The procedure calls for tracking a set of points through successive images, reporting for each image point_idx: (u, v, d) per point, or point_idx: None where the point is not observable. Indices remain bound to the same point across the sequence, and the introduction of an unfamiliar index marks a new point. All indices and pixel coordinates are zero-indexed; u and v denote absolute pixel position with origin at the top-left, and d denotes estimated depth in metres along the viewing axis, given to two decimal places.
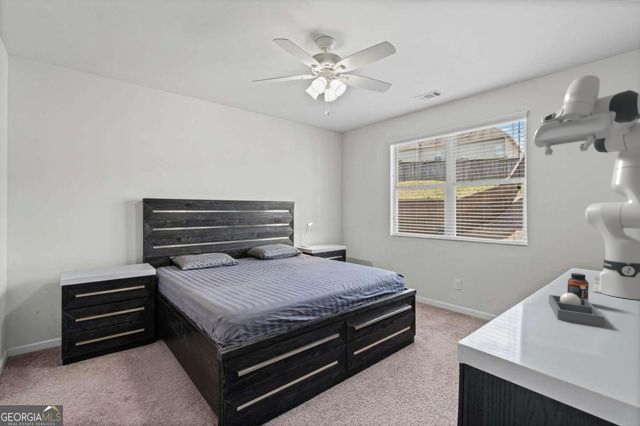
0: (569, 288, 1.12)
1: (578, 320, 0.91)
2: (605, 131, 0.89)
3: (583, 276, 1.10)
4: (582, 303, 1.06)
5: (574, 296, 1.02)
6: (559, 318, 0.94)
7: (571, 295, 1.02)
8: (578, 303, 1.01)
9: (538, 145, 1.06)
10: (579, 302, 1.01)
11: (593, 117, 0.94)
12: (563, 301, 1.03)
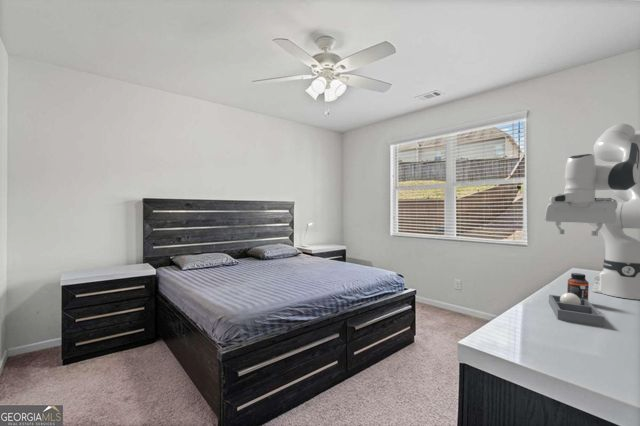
0: (569, 288, 1.12)
1: (578, 320, 0.91)
2: (613, 223, 1.05)
3: (583, 276, 1.10)
4: (582, 303, 1.06)
5: (574, 296, 1.02)
6: (559, 318, 0.94)
7: (571, 295, 1.02)
8: (578, 303, 1.01)
9: (548, 221, 1.16)
10: (579, 302, 1.01)
11: (600, 206, 1.07)
12: (563, 301, 1.03)
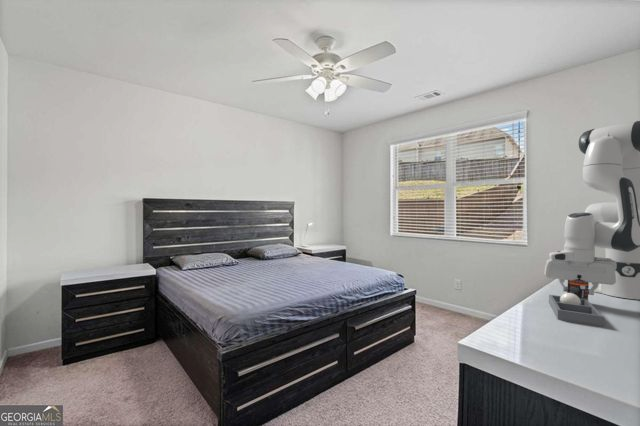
0: (569, 288, 1.12)
1: (578, 320, 0.91)
2: (613, 284, 1.06)
3: None
4: (582, 303, 1.06)
5: (574, 296, 1.02)
6: (559, 318, 0.94)
7: (571, 295, 1.02)
8: (578, 303, 1.01)
9: None
10: (579, 302, 1.01)
11: (600, 266, 1.07)
12: (563, 301, 1.03)
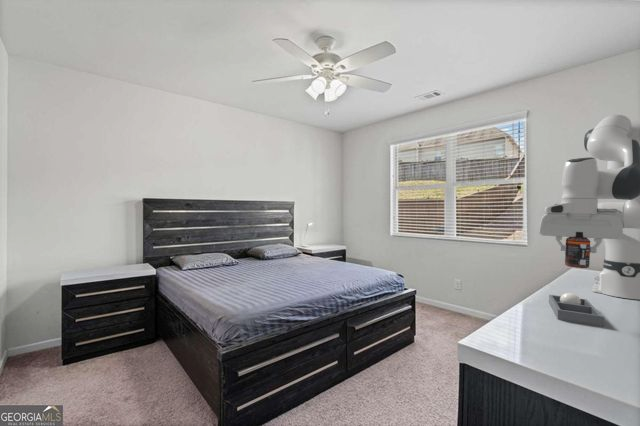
0: (567, 248, 0.96)
1: (578, 320, 0.91)
2: (619, 239, 0.90)
3: None
4: (582, 303, 1.06)
5: (574, 296, 1.02)
6: (559, 318, 0.94)
7: (571, 295, 1.02)
8: (578, 303, 1.01)
9: None
10: (579, 302, 1.01)
11: (604, 218, 0.91)
12: (563, 301, 1.03)
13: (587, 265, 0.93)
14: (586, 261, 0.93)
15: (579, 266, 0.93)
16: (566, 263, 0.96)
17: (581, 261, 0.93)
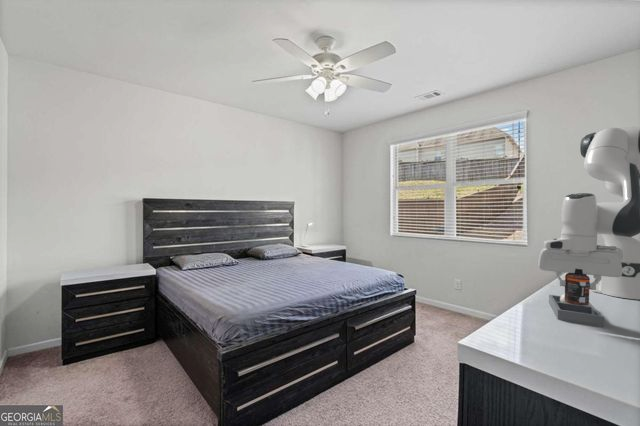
0: (567, 285, 0.96)
1: (578, 320, 0.91)
2: (618, 277, 0.89)
3: None
4: None
5: None
6: (559, 318, 0.94)
7: None
8: None
9: None
10: None
11: (603, 256, 0.91)
12: (563, 301, 1.03)
13: (586, 303, 0.93)
14: (585, 299, 0.93)
15: (578, 303, 0.93)
16: (565, 299, 0.96)
17: (581, 299, 0.93)
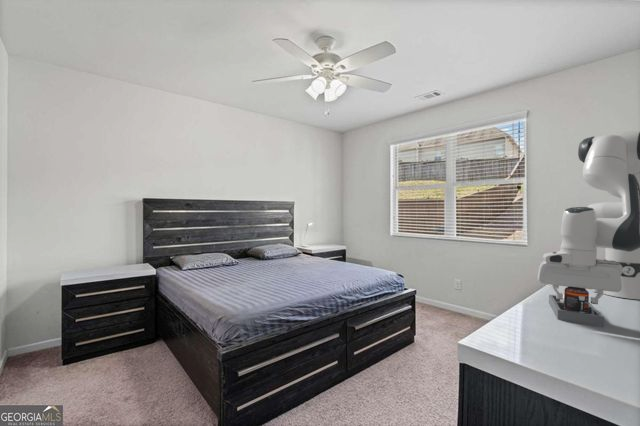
0: (566, 299, 0.96)
1: (578, 320, 0.91)
2: (618, 291, 0.90)
3: None
4: None
5: None
6: (559, 318, 0.94)
7: None
8: None
9: None
10: None
11: (603, 270, 0.91)
12: (563, 301, 1.03)
13: None
14: None
15: None
16: None
17: None
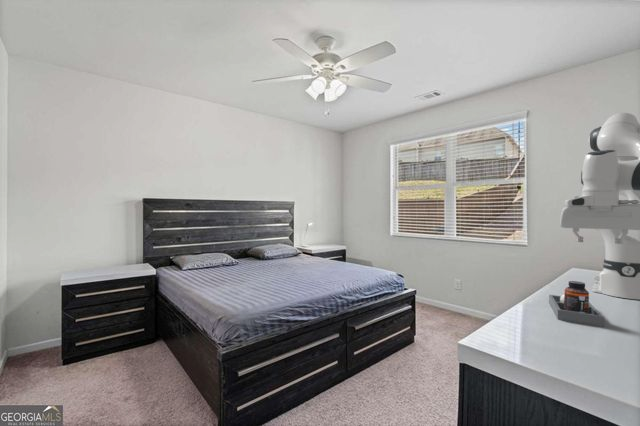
0: (566, 299, 0.96)
1: (578, 320, 0.91)
2: None
3: (582, 285, 0.94)
4: None
5: None
6: (559, 318, 0.94)
7: None
8: None
9: None
10: None
11: (626, 210, 0.93)
12: (563, 301, 1.03)
13: None
14: None
15: None
16: None
17: None
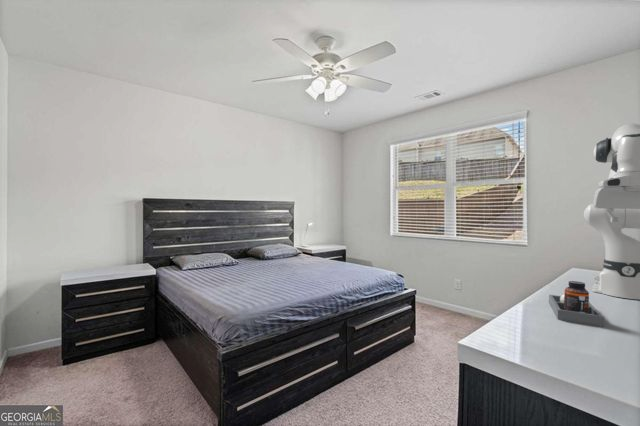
0: (566, 299, 0.96)
1: (578, 320, 0.91)
2: None
3: (582, 285, 0.94)
4: None
5: None
6: (559, 318, 0.94)
7: None
8: None
9: (598, 208, 1.05)
10: None
11: None
12: (563, 301, 1.03)
13: None
14: None
15: None
16: None
17: None
